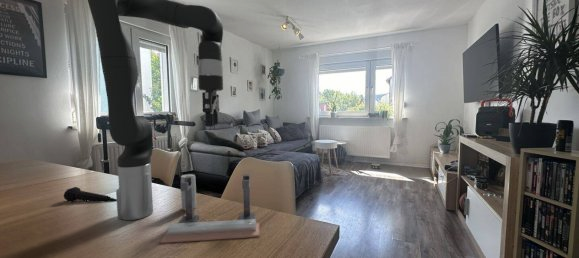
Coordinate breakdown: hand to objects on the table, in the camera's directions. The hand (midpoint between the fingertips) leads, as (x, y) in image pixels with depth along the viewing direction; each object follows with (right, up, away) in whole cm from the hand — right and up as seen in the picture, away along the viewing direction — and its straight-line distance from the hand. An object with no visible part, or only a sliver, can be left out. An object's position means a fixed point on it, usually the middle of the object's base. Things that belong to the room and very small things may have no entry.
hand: (212, 125), depth 79 cm
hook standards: (+3, -30, -3) cm, 31 cm away
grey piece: (-11, -30, +7) cm, 32 cm away
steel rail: (+4, -30, -10) cm, 32 cm away
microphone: (-52, -30, +14) cm, 62 cm away
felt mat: (+4, -31, -10) cm, 33 cm away
